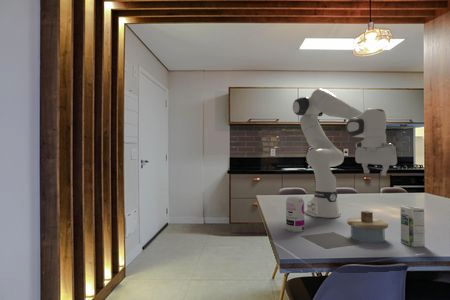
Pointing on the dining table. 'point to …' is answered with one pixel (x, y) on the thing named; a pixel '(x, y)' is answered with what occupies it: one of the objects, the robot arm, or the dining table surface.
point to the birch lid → (367, 221)
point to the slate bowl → (368, 234)
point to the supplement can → (295, 214)
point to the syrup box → (412, 226)
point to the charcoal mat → (330, 240)
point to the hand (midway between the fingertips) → (374, 174)
